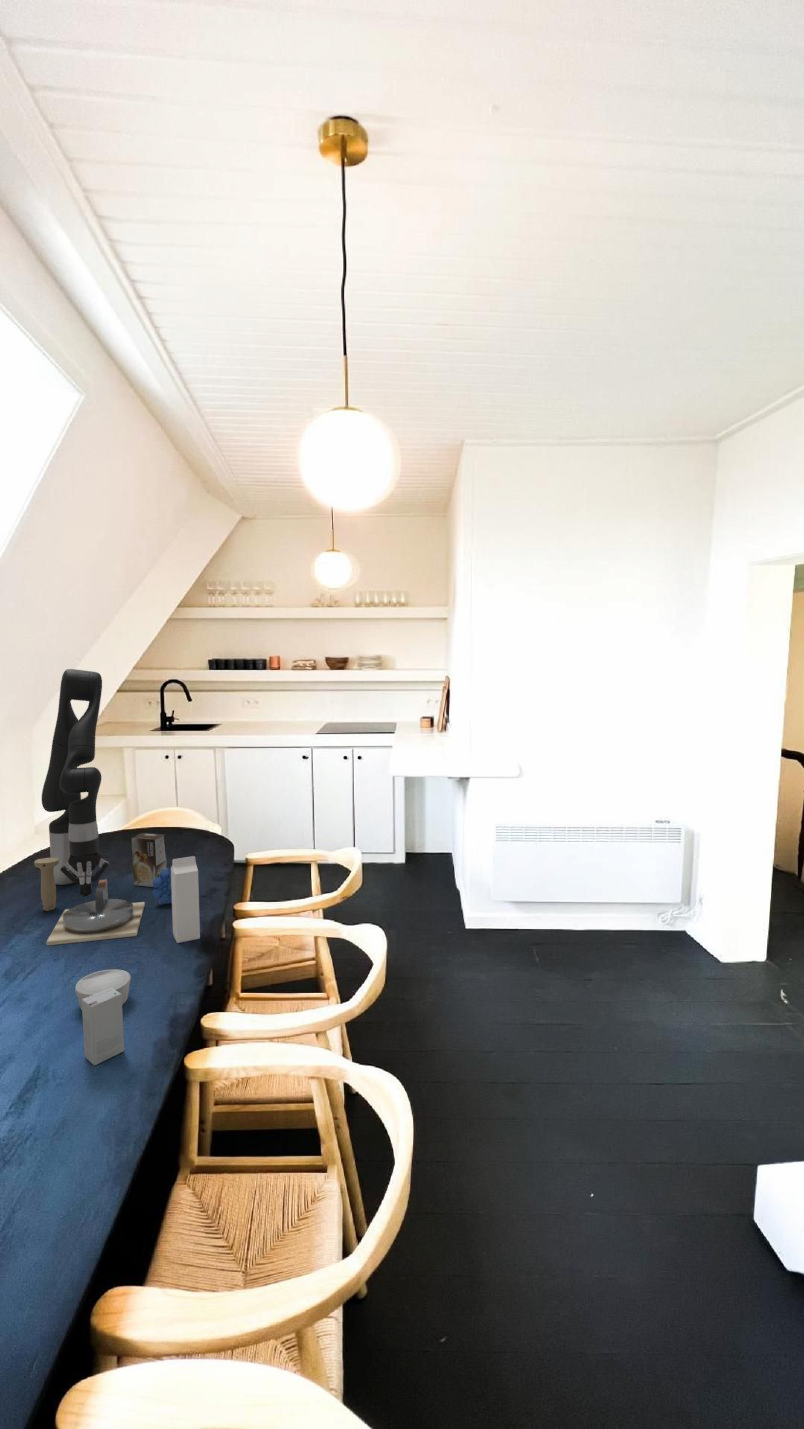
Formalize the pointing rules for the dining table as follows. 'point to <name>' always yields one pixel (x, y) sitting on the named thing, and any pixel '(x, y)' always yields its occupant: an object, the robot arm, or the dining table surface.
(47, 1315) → the dining table surface
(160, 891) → the grapes
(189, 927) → the milk
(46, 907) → the handle
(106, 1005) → the skincare box
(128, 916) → the dial
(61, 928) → the base plate
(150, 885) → the coffee box
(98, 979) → the ramekin
